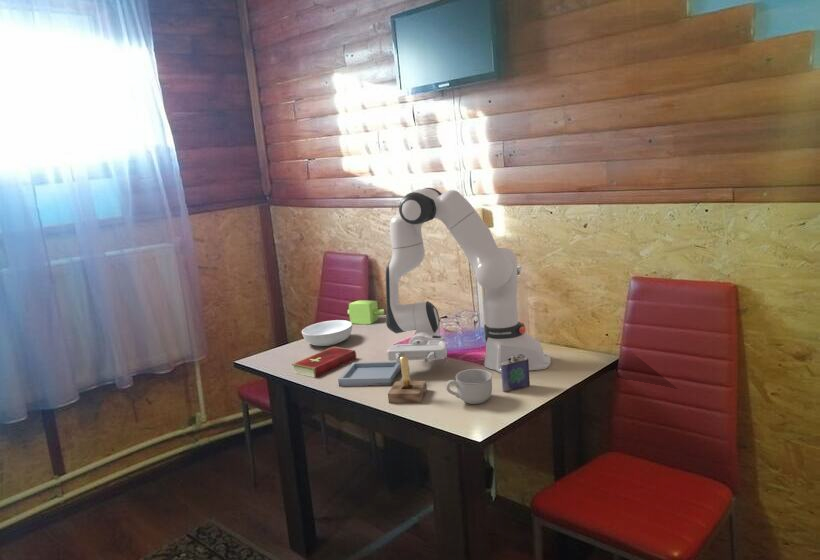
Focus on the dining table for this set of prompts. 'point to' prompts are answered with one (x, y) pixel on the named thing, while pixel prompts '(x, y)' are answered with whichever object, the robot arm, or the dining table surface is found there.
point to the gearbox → (364, 312)
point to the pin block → (407, 392)
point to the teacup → (472, 385)
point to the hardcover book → (324, 361)
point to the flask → (515, 374)
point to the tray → (370, 373)
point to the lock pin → (405, 372)
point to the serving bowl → (327, 332)
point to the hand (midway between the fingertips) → (412, 360)
